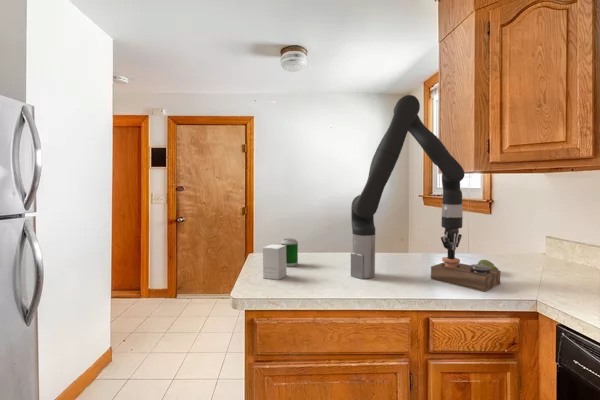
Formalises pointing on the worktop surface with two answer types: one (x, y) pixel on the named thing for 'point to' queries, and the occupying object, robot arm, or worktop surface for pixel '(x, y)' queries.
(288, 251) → the soda can
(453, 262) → the tan round knob
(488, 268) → the grey knob
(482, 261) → the pear
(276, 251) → the supplement box
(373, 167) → the robot arm
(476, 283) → the brown wooden block
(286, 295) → the worktop surface
